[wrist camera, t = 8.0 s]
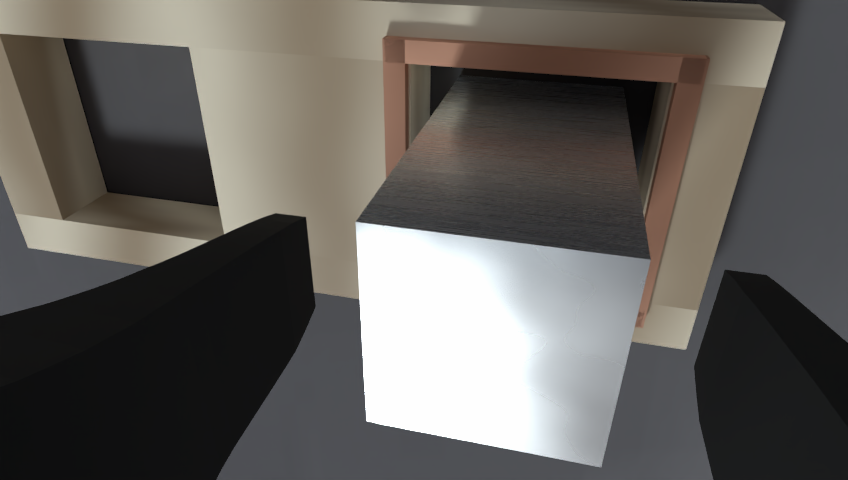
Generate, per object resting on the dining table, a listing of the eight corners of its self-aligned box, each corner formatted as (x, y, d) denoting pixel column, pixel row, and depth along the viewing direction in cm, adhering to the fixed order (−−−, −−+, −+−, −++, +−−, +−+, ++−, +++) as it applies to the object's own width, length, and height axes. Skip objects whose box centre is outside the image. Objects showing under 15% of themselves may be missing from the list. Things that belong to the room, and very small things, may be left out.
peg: (454, 214, 17) (367, 421, 10) (460, 75, 15) (355, 221, 8) (597, 231, 16) (601, 467, 10) (623, 87, 14) (650, 259, 8)
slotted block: (73, 218, 21) (20, 252, 19) (-10, -31, 17) (-88, -21, 15) (676, 304, 17) (687, 357, 15) (760, 4, 13) (790, 24, 11)
